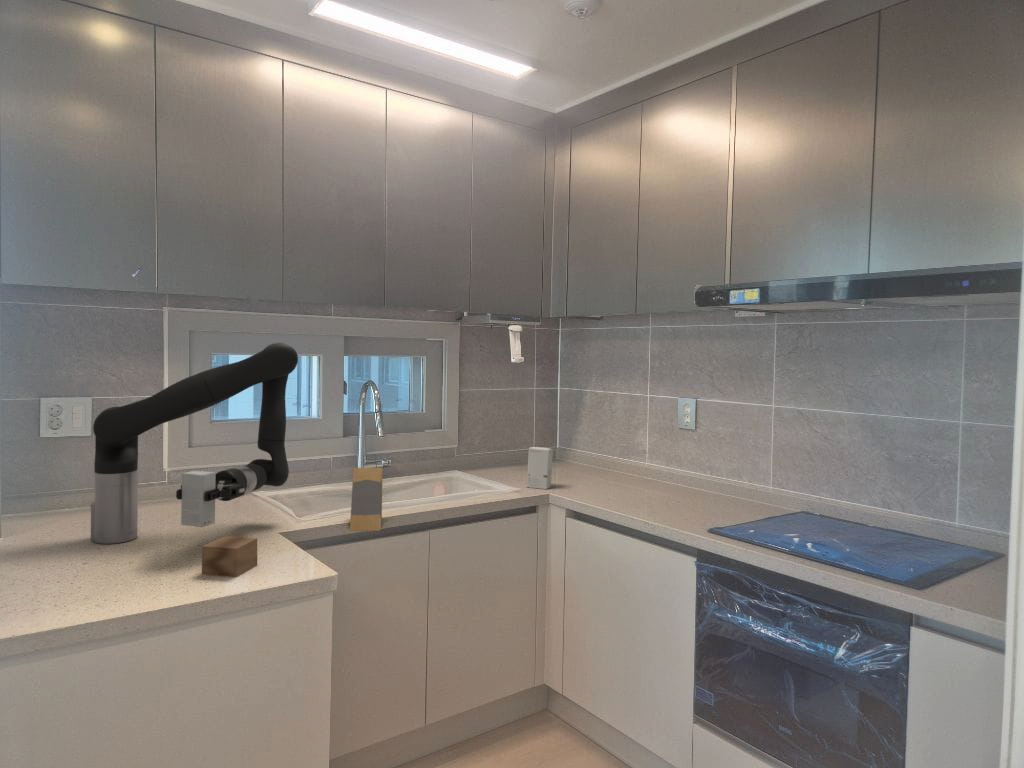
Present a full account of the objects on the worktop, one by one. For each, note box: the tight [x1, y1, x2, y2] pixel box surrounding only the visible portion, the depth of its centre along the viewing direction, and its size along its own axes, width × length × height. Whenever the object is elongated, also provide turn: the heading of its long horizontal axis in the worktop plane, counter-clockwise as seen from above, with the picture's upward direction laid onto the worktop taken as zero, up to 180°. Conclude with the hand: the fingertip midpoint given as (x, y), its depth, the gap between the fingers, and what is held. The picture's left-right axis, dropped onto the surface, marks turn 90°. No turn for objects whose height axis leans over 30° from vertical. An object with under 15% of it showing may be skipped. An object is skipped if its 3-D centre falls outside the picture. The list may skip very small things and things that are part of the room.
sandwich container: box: [349, 467, 384, 533], centre depth 180 cm, size 9×15×15 cm, turn 10°
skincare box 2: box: [526, 446, 554, 490], centre depth 239 cm, size 8×6×15 cm
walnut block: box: [201, 535, 258, 578], centre depth 139 cm, size 8×8×6 cm
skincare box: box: [180, 470, 217, 528], centre depth 147 cm, size 6×4×12 cm
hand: (192, 495), depth 145 cm, fingers closed on skincare box, 6 cm apart
